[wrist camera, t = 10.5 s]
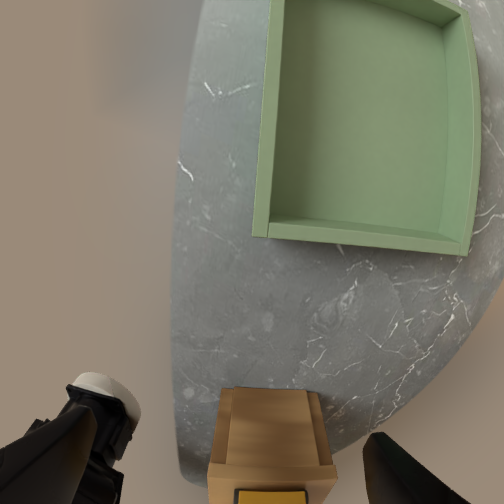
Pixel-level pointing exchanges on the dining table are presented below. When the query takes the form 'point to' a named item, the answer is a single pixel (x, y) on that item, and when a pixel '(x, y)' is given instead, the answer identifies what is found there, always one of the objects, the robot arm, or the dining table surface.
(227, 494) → the oak stand
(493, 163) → the dining table surface
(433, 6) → the green box
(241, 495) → the small car
